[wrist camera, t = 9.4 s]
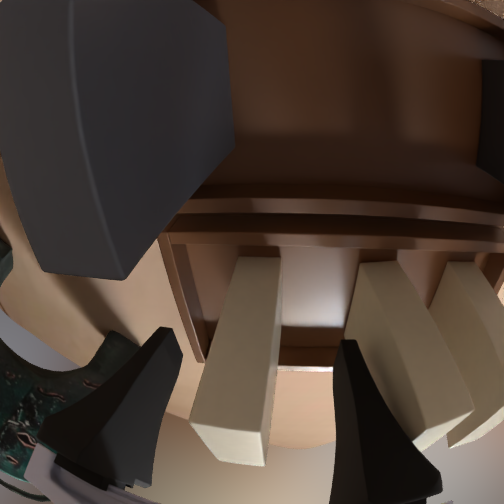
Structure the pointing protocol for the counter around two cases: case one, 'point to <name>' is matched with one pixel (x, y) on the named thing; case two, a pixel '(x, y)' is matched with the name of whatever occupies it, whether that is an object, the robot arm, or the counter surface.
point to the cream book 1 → (242, 366)
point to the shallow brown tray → (312, 268)
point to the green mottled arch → (44, 392)
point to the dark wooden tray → (356, 109)
